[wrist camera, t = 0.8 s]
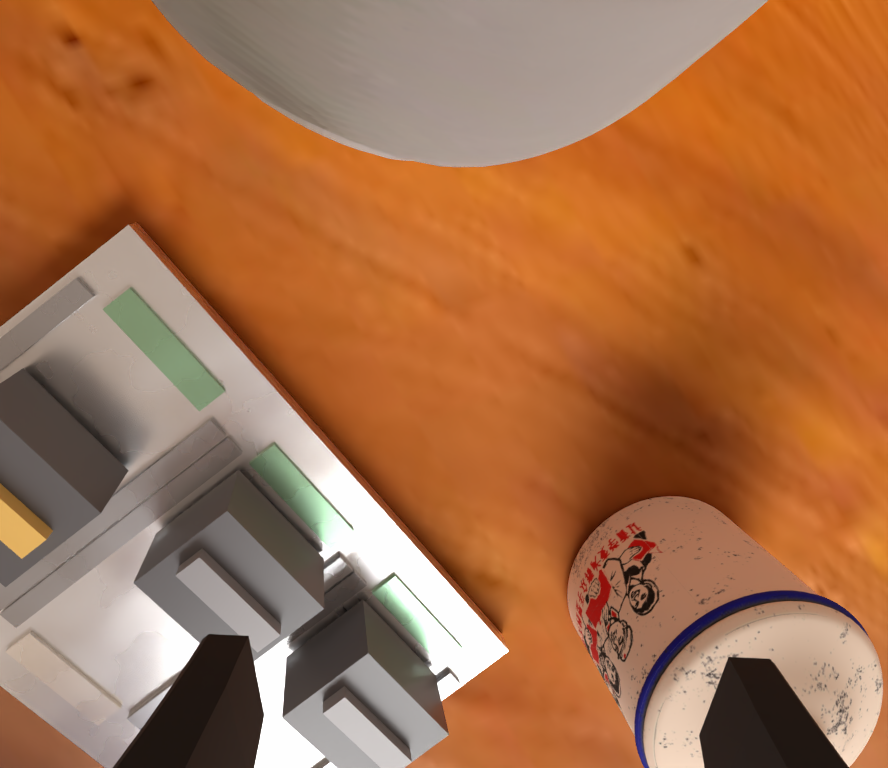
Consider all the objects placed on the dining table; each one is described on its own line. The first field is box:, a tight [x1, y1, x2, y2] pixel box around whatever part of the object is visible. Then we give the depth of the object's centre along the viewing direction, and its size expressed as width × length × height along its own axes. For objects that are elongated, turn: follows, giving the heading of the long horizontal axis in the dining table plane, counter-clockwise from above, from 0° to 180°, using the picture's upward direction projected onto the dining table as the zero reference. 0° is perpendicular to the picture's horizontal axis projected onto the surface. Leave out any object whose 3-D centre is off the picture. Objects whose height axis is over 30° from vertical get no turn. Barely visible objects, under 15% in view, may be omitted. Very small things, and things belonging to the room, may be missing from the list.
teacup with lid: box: [567, 496, 883, 768], centre depth 28 cm, size 12×9×12 cm
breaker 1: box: [134, 470, 324, 661], centre depth 26 cm, size 4×5×4 cm
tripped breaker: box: [0, 368, 129, 587], centre depth 24 cm, size 4×5×4 cm
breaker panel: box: [0, 222, 509, 768], centre depth 29 cm, size 16×23×2 cm
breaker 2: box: [282, 600, 449, 768], centre depth 29 cm, size 4×5×4 cm
